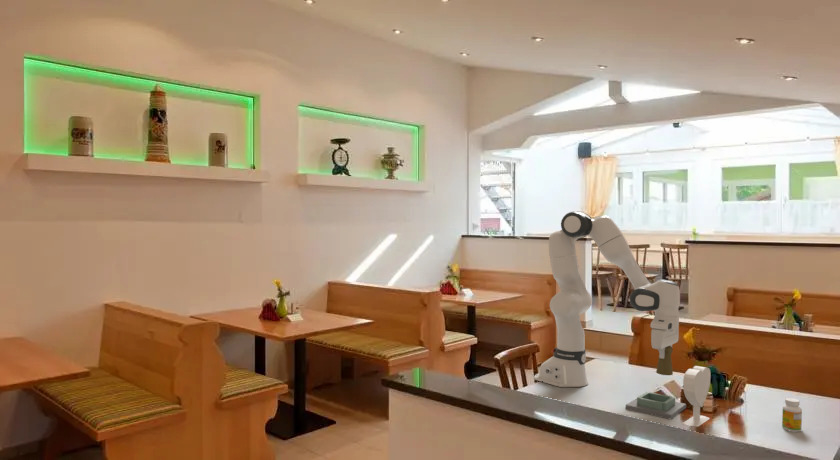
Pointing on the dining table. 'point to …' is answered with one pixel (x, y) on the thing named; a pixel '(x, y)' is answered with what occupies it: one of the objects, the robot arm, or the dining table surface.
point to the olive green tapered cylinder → (665, 363)
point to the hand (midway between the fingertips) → (664, 356)
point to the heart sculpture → (696, 392)
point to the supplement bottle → (792, 415)
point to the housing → (656, 405)
